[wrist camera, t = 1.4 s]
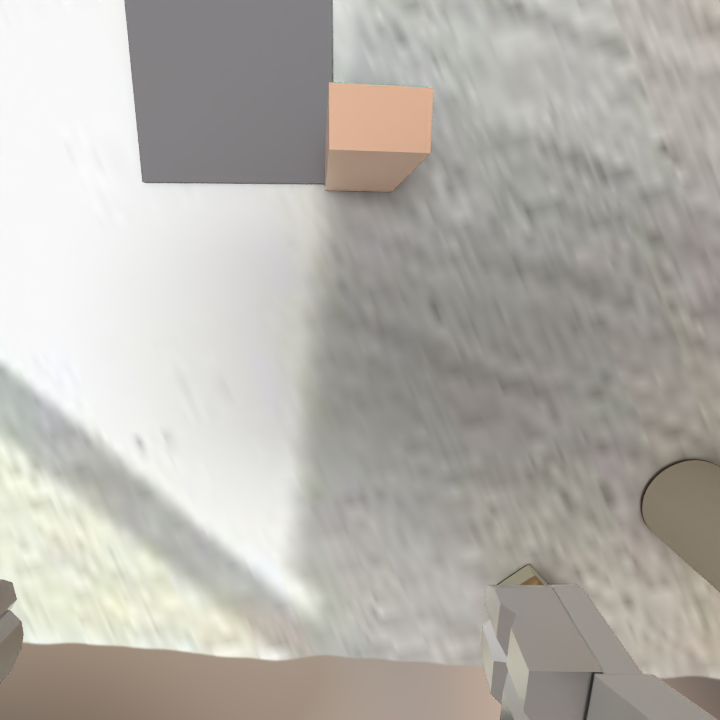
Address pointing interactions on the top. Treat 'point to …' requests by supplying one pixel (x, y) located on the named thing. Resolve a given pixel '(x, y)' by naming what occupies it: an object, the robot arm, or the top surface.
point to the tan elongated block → (375, 135)
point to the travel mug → (688, 514)
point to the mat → (231, 89)
